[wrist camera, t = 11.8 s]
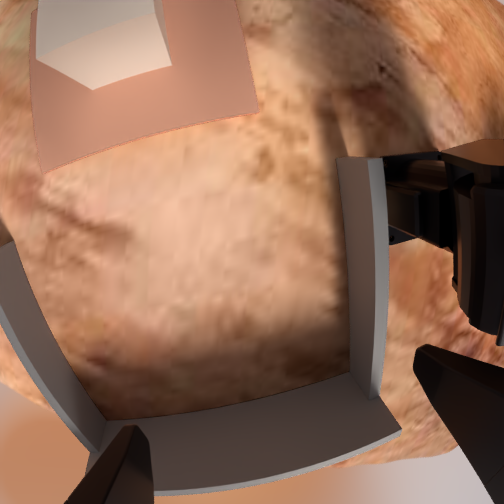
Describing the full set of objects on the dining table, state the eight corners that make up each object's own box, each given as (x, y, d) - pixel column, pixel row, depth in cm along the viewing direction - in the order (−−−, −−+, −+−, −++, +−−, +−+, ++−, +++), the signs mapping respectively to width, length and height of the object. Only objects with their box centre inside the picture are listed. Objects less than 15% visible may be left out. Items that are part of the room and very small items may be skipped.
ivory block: (162, 1, 12) (146, -63, 6) (172, 65, 14) (154, 12, 7) (87, 25, 12) (41, -23, 5) (92, 90, 13) (36, 59, 7)
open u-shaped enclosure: (348, 156, 18) (431, 162, 10) (358, 375, 24) (400, 435, 17) (5, 243, 16) (-63, 286, 8) (103, 427, 22) (89, 492, 14)
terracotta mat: (222, -43, 12) (223, -48, 11) (258, 113, 16) (259, 111, 16) (35, 14, 11) (31, 11, 10) (46, 173, 15) (41, 173, 14)
